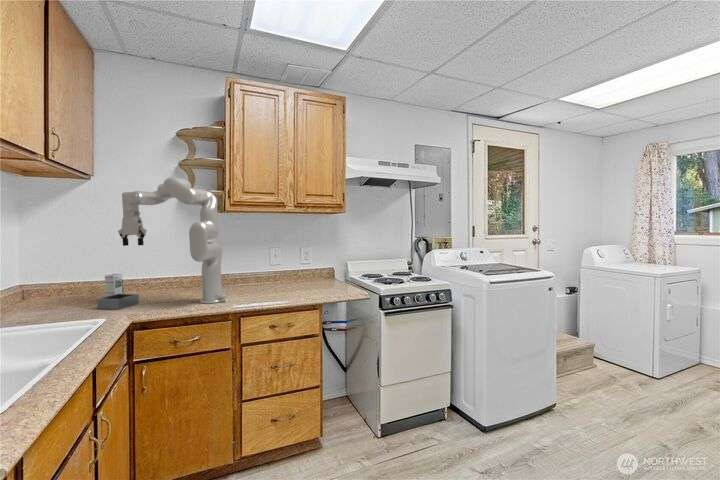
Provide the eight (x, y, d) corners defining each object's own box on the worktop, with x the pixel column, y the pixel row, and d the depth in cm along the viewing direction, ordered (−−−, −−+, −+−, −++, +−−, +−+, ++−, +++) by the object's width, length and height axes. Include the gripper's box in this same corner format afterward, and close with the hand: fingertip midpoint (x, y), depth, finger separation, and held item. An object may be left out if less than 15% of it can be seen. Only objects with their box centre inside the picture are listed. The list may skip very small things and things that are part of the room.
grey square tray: (139, 303, 184) (138, 294, 183) (118, 309, 172) (117, 299, 171) (119, 302, 186) (118, 293, 186) (97, 308, 174) (96, 298, 174)
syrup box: (115, 302, 188) (114, 275, 187) (105, 302, 189) (104, 275, 188) (124, 299, 194) (122, 273, 193) (114, 299, 195) (113, 273, 194)
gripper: (150, 214, 197) (152, 244, 198) (123, 215, 200) (125, 245, 201) (139, 214, 190) (141, 245, 191) (112, 215, 193) (114, 246, 194)
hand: (133, 245), depth 196 cm, fingers open, 9 cm apart
